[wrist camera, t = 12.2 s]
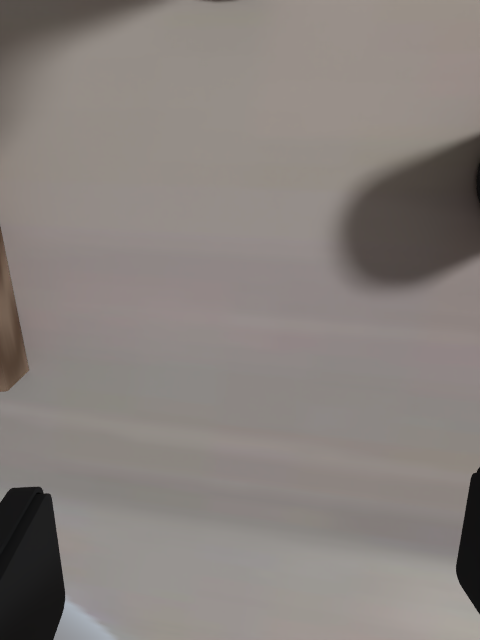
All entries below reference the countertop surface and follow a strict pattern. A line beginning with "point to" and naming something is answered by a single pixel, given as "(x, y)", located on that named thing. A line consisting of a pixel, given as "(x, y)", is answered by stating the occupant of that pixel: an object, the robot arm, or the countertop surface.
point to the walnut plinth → (9, 330)
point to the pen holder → (478, 182)
